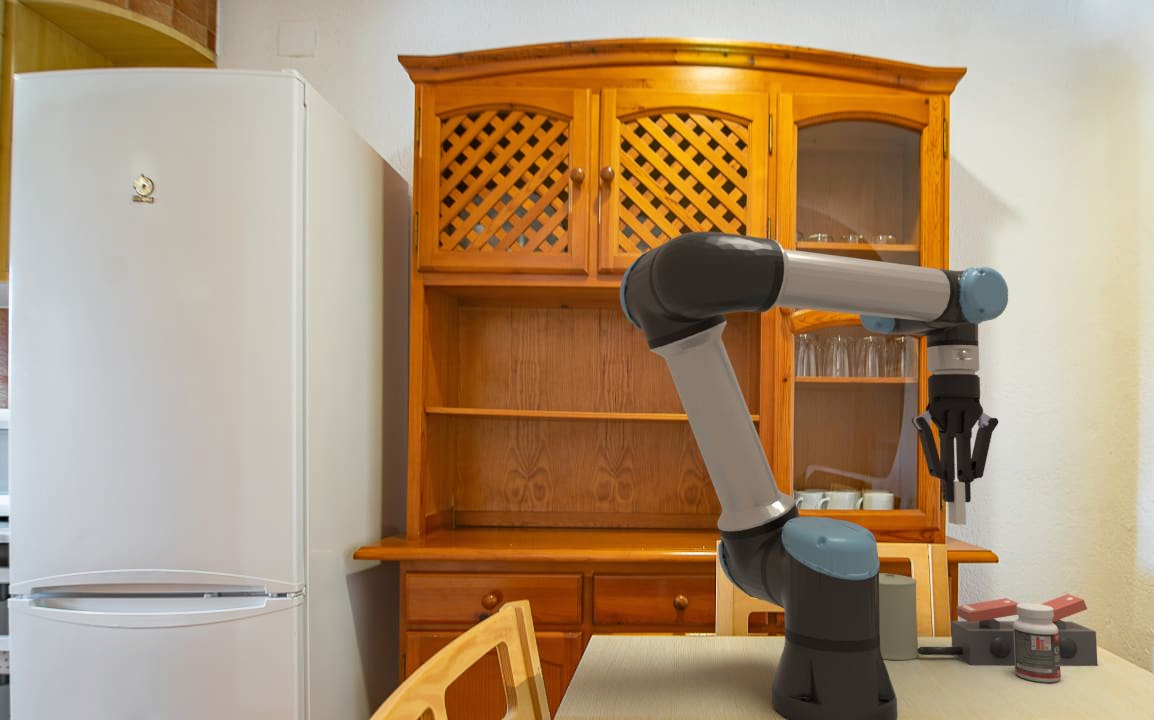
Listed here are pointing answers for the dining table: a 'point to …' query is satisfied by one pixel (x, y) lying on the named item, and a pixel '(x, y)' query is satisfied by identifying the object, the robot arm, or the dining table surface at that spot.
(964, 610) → the rocker
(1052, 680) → the pill bottle
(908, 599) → the can
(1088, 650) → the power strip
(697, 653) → the dining table surface
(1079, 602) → the rocker
